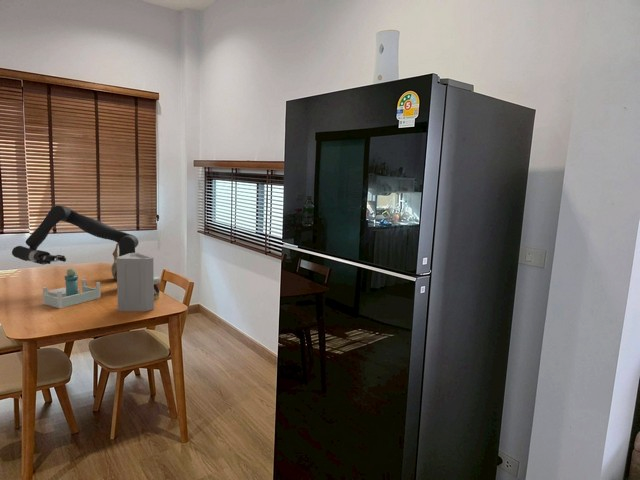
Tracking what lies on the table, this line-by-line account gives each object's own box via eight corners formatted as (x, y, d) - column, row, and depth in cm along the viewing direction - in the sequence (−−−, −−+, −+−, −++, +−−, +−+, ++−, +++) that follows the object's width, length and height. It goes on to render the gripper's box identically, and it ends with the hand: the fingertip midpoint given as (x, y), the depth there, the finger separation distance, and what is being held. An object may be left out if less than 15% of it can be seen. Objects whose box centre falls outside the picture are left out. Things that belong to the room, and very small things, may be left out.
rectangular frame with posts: (43, 303, 221) (42, 287, 220) (84, 294, 242) (84, 279, 241) (59, 308, 215) (58, 291, 214) (100, 297, 236) (100, 282, 235)
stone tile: (46, 294, 238) (46, 291, 237) (67, 290, 248) (66, 286, 248) (59, 298, 232) (59, 294, 232) (80, 293, 243) (80, 289, 243)
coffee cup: (154, 300, 236) (154, 280, 234) (139, 299, 237) (139, 278, 236) (163, 296, 245) (163, 276, 243) (149, 294, 247) (149, 275, 245)
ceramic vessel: (130, 281, 275) (130, 244, 272) (116, 283, 269) (115, 245, 265) (121, 276, 287) (121, 240, 283) (107, 278, 280) (106, 241, 277)
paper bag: (111, 306, 223) (109, 255, 219) (138, 301, 234) (137, 252, 230) (126, 315, 210) (125, 261, 206) (154, 309, 221) (154, 258, 217)
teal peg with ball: (81, 299, 232) (80, 267, 230) (75, 302, 226) (74, 270, 223) (69, 298, 232) (67, 267, 229) (63, 302, 226) (61, 269, 223)
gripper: (26, 252, 231) (44, 256, 224) (52, 249, 243) (70, 252, 236) (26, 265, 232) (44, 269, 225) (52, 261, 244) (70, 265, 238)
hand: (57, 260), depth 231 cm, fingers open, 8 cm apart
